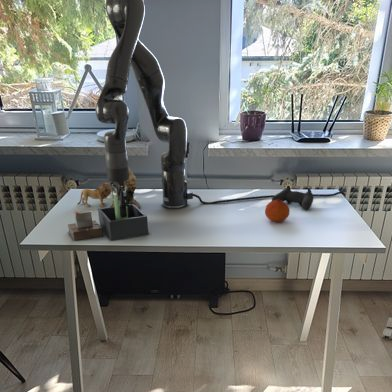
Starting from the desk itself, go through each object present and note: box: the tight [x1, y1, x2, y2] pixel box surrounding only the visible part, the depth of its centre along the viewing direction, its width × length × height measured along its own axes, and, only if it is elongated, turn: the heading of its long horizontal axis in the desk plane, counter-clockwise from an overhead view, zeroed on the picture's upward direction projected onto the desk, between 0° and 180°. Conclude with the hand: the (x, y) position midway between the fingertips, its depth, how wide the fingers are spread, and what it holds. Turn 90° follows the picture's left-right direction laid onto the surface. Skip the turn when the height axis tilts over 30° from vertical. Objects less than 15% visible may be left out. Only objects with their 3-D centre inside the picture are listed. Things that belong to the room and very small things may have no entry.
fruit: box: [264, 199, 290, 223], centre depth 187 cm, size 9×9×8 cm
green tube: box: [112, 191, 128, 220], centre depth 177 cm, size 5×5×11 cm
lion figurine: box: [77, 182, 112, 208], centre depth 204 cm, size 15×5×9 cm, turn 94°
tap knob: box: [73, 209, 93, 228], centre depth 176 cm, size 6×2×5 cm, turn 114°
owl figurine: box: [109, 167, 141, 209], centre depth 197 cm, size 18×12×17 cm, turn 176°
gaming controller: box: [271, 184, 314, 211], centre depth 203 cm, size 17×6×10 cm
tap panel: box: [67, 219, 103, 241], centre depth 178 cm, size 10×10×3 cm
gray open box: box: [97, 204, 149, 241], centre depth 180 cm, size 14×16×7 cm
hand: (121, 214), depth 179 cm, fingers closed on green tube, 4 cm apart
